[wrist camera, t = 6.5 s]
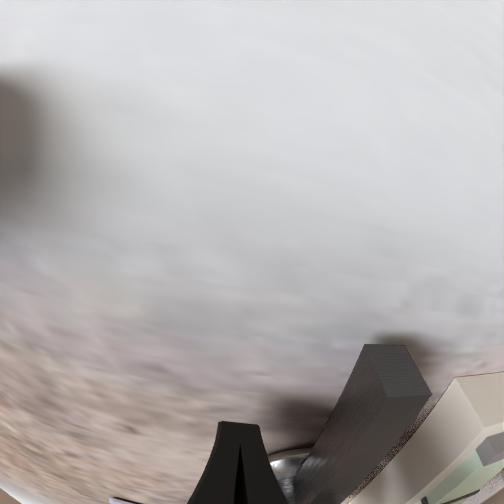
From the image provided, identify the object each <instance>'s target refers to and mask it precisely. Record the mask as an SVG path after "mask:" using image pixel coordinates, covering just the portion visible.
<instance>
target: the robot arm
mask: <svg viewBox="0 0 504 504" xmlns="http://www.w3.org/2000/svg"><path fill="white" fill-rule="evenodd" d="M109 503H110V504H134V503H130V502H126V501H122V500H118V499H115V498H109ZM187 504H289V503H288V501H287V499H286V497H285V495H284V493H283V491H282V489H281V487H280V485H279V483H278V481H277V479H276V476H275V474H274V472H273V469H272V467H271V464H270V462H269V459H268V456H267V453H266V450H265V447H264V444H263V440H262V436H261V432H260V427H259V426H258V425H257V424H245V423H235V422H226V421H221V422H218V428H217V434H216V439H215V443H214V446H213V449H212V452H211V455H210V458H209V460H208V463H207V465H206V467H205V470H204V472H203V474H202V476H201V478H200V480H199V482H198V484H197V486H196V488H195V490H194V492H193V494H192V496H191V497H190V499H189V501H188V503H187Z"/></svg>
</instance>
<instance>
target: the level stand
mask: <svg viewBox="0 0 504 504" xmlns="http://www.w3.org/2000/svg"><path fill="white" fill-rule="evenodd" d="M503 468H504V372H500V373H492V374H484V375H475V376H465V377H455V378H454V379H453V381H452V382H451V384H450V385H449V387H448V388H447V390H446V391H445V393H444V394H443V396H442V397H441V399H440V400H439V401H438V403H437V404H436V406H435V407H434V408H433V410H432V411H431V412H430V414H429V415H428V416H427V418H426V419H425V420H424V422H423V423H422V424H421V426H420V427H419V428H418V429H417V431H416V432H415V433H414V434H413V436H412V437H411V438H410V439H409V440H408V442H407V443H406V444H405V445H404V446H403V447H402V449H401V450H400V451H399V452H398V453H397V454H396V455H395V457H394V458H393V459H392V460H391V461H390V462H389V463H388V464H387V465H386V466H385V468H384V469H383V470H382V471H381V472H380V473H379V474H378V475H377V476H376V477H375V478H374V479H373V480H372V481H371V482H370V483H369V484H368V485H367V486H366V487H365V488H364V489H363V490H362V491H361V492H360V493H359V494H358V495H357V496H355V497H354V498H353V499H352V500H351V501H350V502H349V503H348V504H461V503H462V502H464V501H465V500H466V499H468V498H469V497H470V496H472V495H475V494H476V493H477V492H479V491H480V490H479V489H480V488H481V487H483V486H484V485H485V484H486V483H487V482H488V481H490V480H491V479H492V478H493V477H494V476H495V475H496V474H498V473H499V472H500V471H501V470H502V469H503Z"/></svg>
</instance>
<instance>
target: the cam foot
mask: <svg viewBox="0 0 504 504" xmlns="http://www.w3.org/2000/svg"><path fill="white" fill-rule="evenodd" d="M431 395H432V393H431V392H430V390H429V388H428V386H427V384H426V382H425V381H424V379H423V377H422V375H421V373H420V371H419V370H418V368H417V366H416V364H415V363H414V361H413V359H412V357H411V356H410V354H409V352H408V350H407V349H406V347H405V345H374V344H364V346H363V349H362V351H361V353H360V356H359V358H358V360H357V362H356V365H355V367H354V369H353V371H352V373H351V375H350V378H349V380H348V382H347V384H346V386H345V388H344V390H343V392H342V394H341V396H340V398H339V400H338V402H337V404H336V406H335V408H334V410H333V412H332V414H331V416H330V418H329V419H328V421H327V423H326V425H325V427H324V429H323V431H322V432H321V434H320V436H319V438H318V440H317V441H316V443H315V445H314V447H312V448H301V449H294V450H289V451H284V452H280V453H276V454H272V455H269V456H268V459H269V462H270V464H271V467H272V469H273V472H274V474H275V476H276V479H277V481H278V483H279V485H280V487H281V489H282V491H283V493H284V495H285V497H286V499H287V501H288V503H289V504H340V503H342V502H343V501H344V500H345V499H346V498H347V497H348V496H349V495H350V494H351V493H352V492H353V491H354V490H355V489H356V488H357V487H358V486H359V485H360V484H361V482H362V481H363V480H364V479H365V478H366V477H367V476H368V475H369V474H370V473H371V472H372V471H373V469H374V468H375V467H376V466H377V465H378V464H379V463H380V462H381V460H382V459H383V458H384V457H385V456H386V455H387V453H388V452H389V451H390V450H391V449H392V447H393V446H394V445H395V444H396V442H397V441H398V440H399V439H400V437H401V436H402V435H403V434H404V432H405V431H406V430H407V428H408V427H409V426H410V424H411V423H412V422H413V420H414V419H415V418H416V416H417V415H418V413H419V412H420V411H421V409H422V408H423V406H424V405H425V404H426V402H427V401H428V399H429V398H430V396H431Z"/></svg>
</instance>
